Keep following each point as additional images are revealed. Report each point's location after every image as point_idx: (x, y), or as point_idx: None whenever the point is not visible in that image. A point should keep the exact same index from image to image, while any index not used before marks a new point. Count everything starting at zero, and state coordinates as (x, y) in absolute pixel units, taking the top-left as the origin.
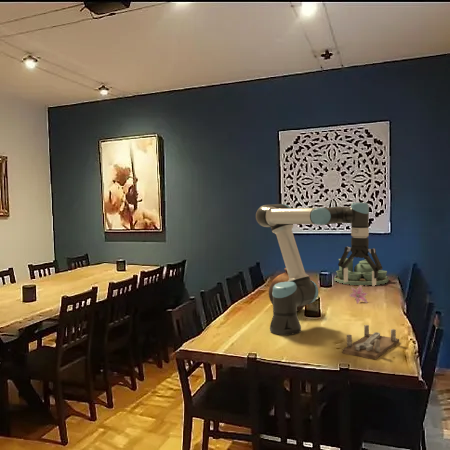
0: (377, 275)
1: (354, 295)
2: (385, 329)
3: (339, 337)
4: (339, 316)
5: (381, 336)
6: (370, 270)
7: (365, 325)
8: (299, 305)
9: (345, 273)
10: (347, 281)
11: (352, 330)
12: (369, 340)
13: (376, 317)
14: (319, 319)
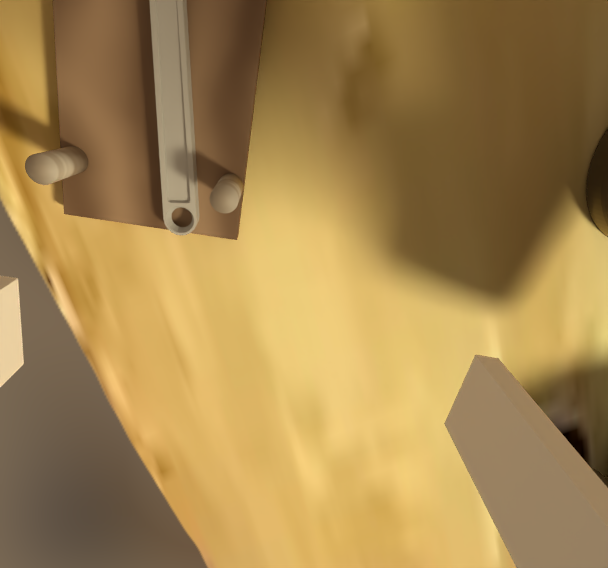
0: None
1: None
2: (203, 379)
3: (374, 166)
4: (435, 475)
5: (161, 218)
6: None
7: (230, 199)
8: None
9: (554, 477)
10: (449, 415)
11: (338, 308)
12: (168, 44)
13: (288, 513)
14: None
